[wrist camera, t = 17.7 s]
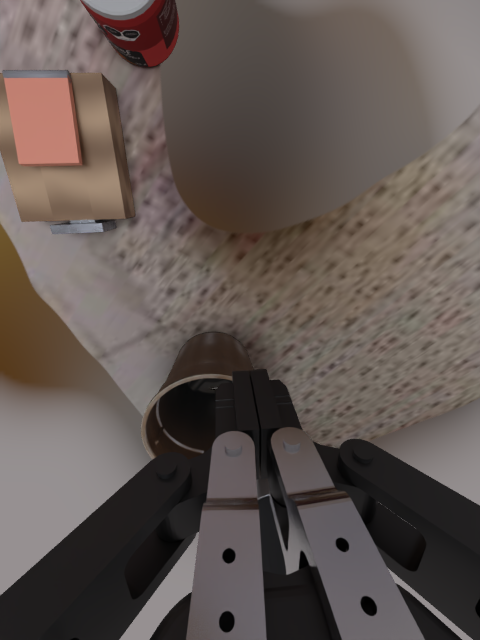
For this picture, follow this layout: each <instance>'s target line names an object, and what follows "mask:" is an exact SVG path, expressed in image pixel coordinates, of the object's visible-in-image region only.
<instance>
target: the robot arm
mask: <svg viewBox="0 0 480 640" xmlns="http://www.w3.org/2000/svg"><path fill="white" fill-rule="evenodd" d="M380 503H381V504H380ZM383 505H384V506H385V507H384V506H383ZM387 508H388V509H387ZM390 510H391V511H390ZM394 513H395V514H394ZM397 515H398V516H397ZM400 517H401V518H402V519H401V518H400ZM404 520H405V521H404ZM407 522H408V523H407ZM410 524H411V525H412V526H411V525H410ZM414 527H415V528H414ZM197 532H199V539H198V546H197V555H196V563H195V571H194V579H193V587H192V592H191V593H189V594H188V595H187V596H185V597H184V598H183V599H182V600H180V601H179V602H178V603H177V604H176V605H175V606H174V607H173V608H172V609H171V610H170V611H169V613H168V614H167V615H166V616H165V618H164V619H163V620H162V622H161V623H160V625H159V626H158V627H157V629H156V631H155V632H154V634H153V635H152V637H151V638H150V640H462V639H461V638H460V637H459V636H457V635H456V634H455V633H454V632H453V631H452V630H451V629H450V628H448V627H447V626H446V625H445V624H444V623H443V622H442V621H441V620H440V619H438V618H437V617H436V616H435V615H434V614H433V613H432V612H431V611H430V610H428V609H427V608H426V607H425V606H424V605H423V604H422V603H421V602H420V601H418V600H417V599H416V598H415V597H414V596H413V595H411V594H410V593H409V592H408V591H406V590H405V589H404V588H402V587H401V586H400V585H398V584H396V583H395V582H394V580H393V578H392V576H391V574H390V572H389V570H388V568H389V569H390V570H391V571H392V572H394V573H395V574H396V575H397V576H398V577H399V578H400V579H402V580H403V581H404V582H405V583H406V584H408V585H409V586H410V587H411V588H412V589H414V590H415V591H416V592H417V593H418V594H419V595H421V596H422V597H423V598H424V599H425V600H427V601H428V602H429V603H430V604H431V605H433V606H434V607H435V608H436V609H437V610H438V611H440V612H441V613H442V614H443V615H444V616H446V617H447V618H448V619H449V620H450V621H452V622H453V623H454V624H455V625H456V626H458V627H459V628H460V629H461V630H462V631H463V632H465V633H466V634H467V635H468V636H469V637H471V638H472V639H473V640H480V506H479V505H478V504H476V503H474V502H472V501H471V500H469V499H467V498H466V497H464V496H462V495H460V494H459V493H457V492H455V491H453V490H452V489H450V488H448V487H447V486H445V485H443V484H441V483H439V482H438V481H436V480H434V479H432V478H431V477H429V476H427V475H426V474H424V473H422V472H420V471H418V470H417V469H415V468H414V467H412V466H410V465H408V464H407V463H405V462H403V461H401V460H400V459H398V458H396V457H394V456H393V455H391V454H389V453H388V452H386V451H384V450H382V449H381V448H379V447H377V446H375V445H374V444H372V443H370V442H367V441H365V440H361V439H350V440H347V441H345V442H343V443H342V445H341V446H340V449H338V448H333V447H328V446H323V445H320V444H317V443H315V442H313V441H312V439H311V438H310V436H309V435H308V434H307V433H306V432H304V431H303V430H302V428H301V425H300V422H299V419H298V417H297V414H296V411H295V409H294V406H293V404H292V400H291V398H290V395H289V392H288V389H287V387H286V386H285V385H284V384H283V383H282V382H281V381H280V380H269V377H268V373H267V370H266V369H258V370H250V371H249V370H242V371H232V383H221V384H220V385H219V387H218V388H217V390H216V435H215V441H214V443H213V445H212V446H211V448H210V449H209V450H207V451H206V452H205V453H203V454H201V455H199V456H197V457H194V458H191V459H187V458H186V457H185V456H184V455H182V454H180V453H177V452H168V453H164V454H161V455H159V456H157V457H155V458H154V459H153V460H152V461H150V462H149V463H148V464H147V465H146V466H145V467H144V468H143V469H142V470H140V471H139V472H138V473H137V474H136V475H135V476H134V477H133V478H131V479H130V480H129V481H128V482H127V483H126V484H125V485H124V486H122V487H121V488H120V489H119V490H118V491H117V492H116V493H115V494H114V495H112V496H111V497H110V498H109V499H108V500H107V501H106V502H105V503H103V504H102V505H101V506H100V507H99V508H98V509H97V510H96V511H95V512H93V513H92V514H91V515H90V516H89V517H88V518H87V519H86V520H85V521H83V522H82V523H81V524H80V525H79V526H78V527H77V528H76V529H74V530H73V531H72V532H71V533H70V534H69V535H68V536H67V537H65V538H64V539H63V540H62V541H61V542H60V543H59V544H58V545H57V546H55V547H54V549H52V550H51V551H50V552H49V553H48V554H46V555H45V556H44V557H43V558H42V559H41V560H40V561H39V562H38V563H36V565H34V566H33V567H32V568H31V569H30V570H29V571H27V572H26V573H25V574H24V575H23V576H22V577H21V578H20V579H18V580H17V581H16V582H15V583H14V584H13V585H12V586H11V587H10V588H8V589H7V590H6V591H5V592H4V593H3V594H2V595H1V596H0V640H119V639H120V638H121V636H122V635H123V634H124V632H125V631H126V630H127V628H128V627H129V625H130V624H131V623H132V622H133V620H134V619H135V617H136V616H137V615H138V614H139V612H140V611H141V610H142V608H143V607H144V605H145V604H146V603H147V601H148V600H149V599H150V597H151V596H152V595H153V593H154V592H155V591H156V589H157V588H158V587H159V585H160V584H161V582H162V581H163V580H164V579H165V577H166V576H167V575H168V573H169V572H170V571H171V569H172V568H173V566H174V565H175V564H176V563H177V561H178V560H179V559H180V557H181V556H182V554H183V553H184V552H185V550H186V549H187V548H188V546H189V545H190V544H191V542H192V541H193V539H194V538H195V536H196V533H197Z"/></svg>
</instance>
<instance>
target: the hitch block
mask: <svg viewBox="0 0 480 640" xmlns="http://www.w3.org/2000/svg"><path fill="white" fill-rule="evenodd" d="M70 75H71V79H72V90H73V97H74V105H75V112H76V119H77V127H78V134H79V142H80V149H81V157H82V164H83V165H75V166H22V165H20V164H19V162H18V156H17V150H16V145H15V139H14V133H13V127H12V122H11V116H10V110H9V104H8V99H7V93H6V87H5V82H4V77H3V74H2V73H0V151H1V155H2V158H3V161H4V165H5V168H6V171H7V175H8V178H9V181H10V185H11V188H12V191H13V195H14V198H15V201H16V204H17V208H18V211H19V214H20V218H21V221H22V222H30V221H63V220H97V219H126V218H130V217H134V216H135V211H134V204H133V198H132V191H131V185H130V178H129V172H128V166H127V159H126V153H125V146H124V140H123V133H122V127H121V120H120V114H119V107H118V101H117V95H116V88H115V87H114V86H113V85H112V84H111V83H110V82H109V81H108V80H107V79H106V78H105V77H104V75H103V74H102V73H70Z"/></svg>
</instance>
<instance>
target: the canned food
mask: <svg viewBox="0 0 480 640" xmlns="http://www.w3.org/2000/svg"><path fill="white" fill-rule="evenodd" d="M80 1H81V2H82V4H83V5H84V7H85V8H86V9H87V11H88V12H89V14H90V15H91V16H92V18H93V19H94V21H95V22H96V24H97V25H98V26H99V28H100V29H101V31H102V32H103V33H104V35H105V36H106V38H107V39H108V40H109V42H110V43H111V45H112V46H113V48H114V49H115V50H116V51H117V52H118V54H119V55H120V56H121V57H123V58H124V59H125V60H127V61H128V62H130V63H132V64H134V65H138V66H142V67H152V66H156V65H158V64H160V63H162V62H163V61H164V60H166V59H167V58H168V57H169V55H170V54H171V53H172V51H173V49H174V47H175V45H176V42H177V38H178V32H179V18H178V13H177V8H176V3H175V0H80Z"/></svg>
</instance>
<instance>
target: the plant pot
mask: <svg viewBox="0 0 480 640" xmlns="http://www.w3.org/2000/svg"><path fill="white" fill-rule="evenodd" d="M242 370H249V371H250V370H254V369H253V367H252V364H251V361H250V359H249V356H248V353H247V351H246V349H245V347H244V346H243V345H242V344H241V343H240V342H239V341H237V340H236V339H234V338H233V337H232V336H230V335H228V334H225V333H220V332H208V333H203V334H199V335H197V336H194V337H193V338H191V339H190V340H188V341H187V342H186V344H185V345H184V346H183V347H182V348H181V350H180V351H179V354H178V357H177V359H176V361H175V363H174V365H173V368H172V370H171V372H170V374H169V376H168V378H167V381H166V382H165V383H164V384H163V386H162V387H161V388H160V390H159V392H158V393H157V394H156V395H155V397H154V398H153V399H152V400H151V402H150V403H149V405H148V407H147V409H146V411H145V413H144V416H143V419H142V423H141V436H142V441H143V444H144V446H145V449H146V451H147V452H148V454H149V455H150V457H151V458H152V459H154V458H155V457H157V456H159V455H161V454H164V453H168V452H177V453H180V454H182V455H184V456H185V457H186V458H187V459H191V458H194V457H197V456H199V455H201V454H203V453H205V452H206V451H207V450H209V449H210V448H211V446H212V445H213V443H214V441H215V435H216V390H211V389H210V388H214V387H219V385H220V384H221V383H232V371H242Z"/></svg>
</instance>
